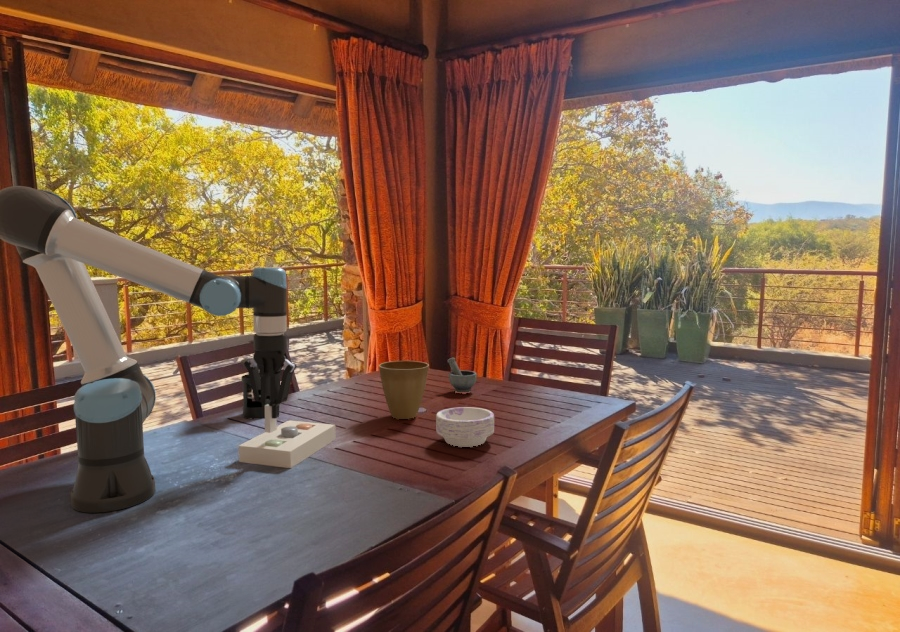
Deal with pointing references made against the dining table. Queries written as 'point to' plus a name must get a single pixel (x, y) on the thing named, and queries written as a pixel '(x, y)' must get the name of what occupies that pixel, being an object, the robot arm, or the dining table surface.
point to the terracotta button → (304, 426)
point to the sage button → (273, 443)
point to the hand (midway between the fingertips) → (270, 430)
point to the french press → (250, 397)
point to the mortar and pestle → (461, 377)
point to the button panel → (287, 445)
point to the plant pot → (403, 386)
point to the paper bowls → (465, 425)
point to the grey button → (289, 432)
